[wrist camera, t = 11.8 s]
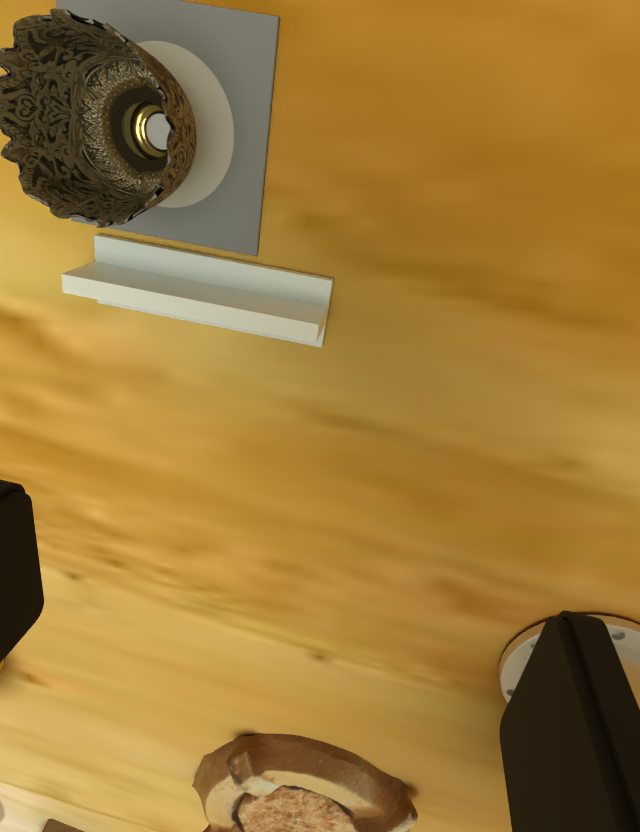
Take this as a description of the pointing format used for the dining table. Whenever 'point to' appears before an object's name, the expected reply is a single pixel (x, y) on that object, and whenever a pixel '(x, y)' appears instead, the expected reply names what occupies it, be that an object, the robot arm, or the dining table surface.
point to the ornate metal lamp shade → (91, 119)
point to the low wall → (205, 289)
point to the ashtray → (298, 789)
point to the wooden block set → (58, 827)
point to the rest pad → (205, 113)
